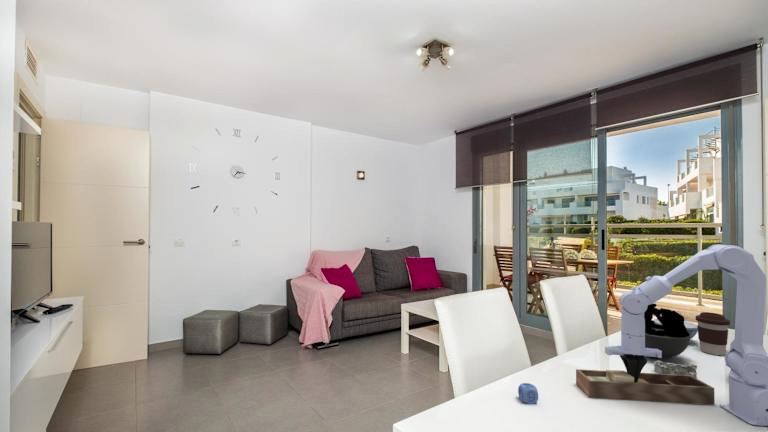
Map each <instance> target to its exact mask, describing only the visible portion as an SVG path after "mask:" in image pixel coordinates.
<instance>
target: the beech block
mask: <svg viewBox="0 0 768 432" xmlns="http://www.w3.org/2000/svg"><path fill="white" fill-rule="evenodd" d="M605 371H606V378H607V379H608V380H609V381H610V382H629V383H634V377H632V376H631V375H629V374H628V373H627V371H625V370H619V369H617V370H614V369H606V370H605Z"/></svg>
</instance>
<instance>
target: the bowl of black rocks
mask: <svg viewBox="0 0 768 432" xmlns="http://www.w3.org/2000/svg"><path fill="white" fill-rule="evenodd" d="M657 306H658V305H657V304H656V303H652V304H651V305H648V307H647V310H646V311H645V312H644V319H645V348H652V349H658V350H660V351H662V358H661V359H671V358H675V357H677V356H679V355H681V354H682V353H684V352H685V351H686V349H688V347H689V345H690V342H691V339H692V338H691V336H690V334H689V333H688V331H687V329H686V327H685V325H684V321H685V317H684V315H682V314H681V313H679V312H677V311H675V310H672V309H668V308H663V307H662V308H660V309H658V308H657ZM653 316H655V317H656V318H655V319H658V320H659V321H660V323H661V324H662V325H659V324H655V322H654V319H653V318H654V317H653ZM690 338H691V339H690ZM653 358H656V359H659V358H658V357H653Z"/></svg>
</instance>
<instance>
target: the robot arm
mask: <svg viewBox="0 0 768 432" xmlns="http://www.w3.org/2000/svg"><path fill="white" fill-rule="evenodd" d="M754 256H755V255H754V254H752V253H751V252H749V251H748V250H746V249H744V248H742V247H741V246H737V245H727V244H720V243H719V244H717V243H716V244H713V245H710V246H708V247H707V248H706V249H703V250H700V251H699V252H697V253H695V254H694V255H692V256H691V257H690V258H688V259H686V260H684V262H682V263H680V264H679V265H678V266H676V267H675V268H673V269H672V270H670V271H669V272H666V273H665V274H664V275H653V276H650V275H648V276H647V277H645V281H644V282H642V283H640V284H639V285H637V286H632V287H631V288H630V291H629V290H628V291H625V292H623V293H622V294H621V296H620V297H619V299H618V301H619V303H620V305H621V316H620V334H621V336H620V340H621V341H620V344H621V345H612V346H611V345H610V346H604V353H605V354H606V355H608V356H619V357H620V359H621V360H622V362H623V364H624V367H625V369H626V372H627V373H628V374H629V375H631V376H632V377H634V382H638V378H639V375H640V373H642V370H643V369H644V367H645V366H646V365H647V363H648V358H646V357H651V358H654V357H658V358H657V359H663V358H662V351H660V350H658V349H652V348H645V319H644V312H645V311H646V310H647V307H648V305H651V304H655V303H657V302H658V301H660V300H661V299H663V298H664V297H666V296H667V295H670V294H671V293H672V291H673V288H674V287H673V286H675V285H676V284H679V283H680V282H682V281H684V280H686V279H688V278H690V277H692V276H693V275H695V274H697V273H699V272H701V271H709V270H711V271H713V270H715V271H716V270H722V271H723V272H726V273H727V275H729V276H731V277H732V278H734V280H736V281H737V282H736V297H735V299H736V300H735V303H736V304H735V318H734V319H735V322H734V339H733V340H732V341H731V342H730V347H729V350H728V351H726V354H725V355H724V356H725V357H724V361H725V364H726V365H727V367H728V368H730V371H729V373H728V403H729V404H725V403H724V404H722V403H720V404H719V407H721V408H722V409H724V410H725V411H727V412H729V413H731V414H732V415H734V416H736V417H738V418H739V419H741V420H743V421H745V422H746V423H748V424H750V425H752V426H763V427H764V426H765V427H768V353H767V352H766V349H765V347H764V335H765V334H764V333H765V332H764V331H765V313H766V311H765V309H766V293H767V291H766V289H767V276H766V274H765V273H764V272H763V270H762V269H761V267H760V266H759V264H758V263H757V261H756V259H755V257H754Z"/></svg>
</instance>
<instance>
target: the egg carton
mask: <svg viewBox="0 0 768 432" xmlns="http://www.w3.org/2000/svg"><path fill="white" fill-rule="evenodd" d="M653 363H654V367H653V369H654V373H655V372H656V373H657V374H677V375H691V376H693V377H694V378H696V379H697V375H698V373H697V369H698V367H697V366H698V365H695V364H690V363H685V364H681V363H678V364H676V363H673V362H663V361H661V360H659V359H658V360H655V361H653Z"/></svg>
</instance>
